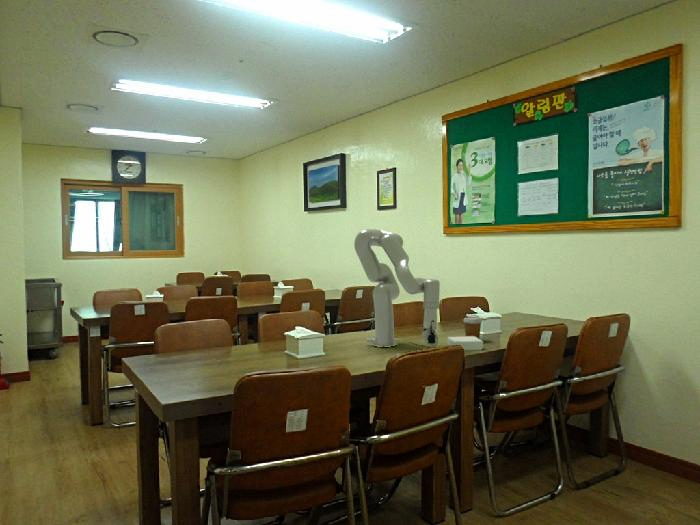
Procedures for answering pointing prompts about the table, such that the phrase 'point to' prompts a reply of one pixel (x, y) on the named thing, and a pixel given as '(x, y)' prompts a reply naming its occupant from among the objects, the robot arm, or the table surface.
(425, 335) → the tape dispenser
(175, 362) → the table surface
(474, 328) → the disposable coffee cup
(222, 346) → the table surface
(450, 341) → the stand
